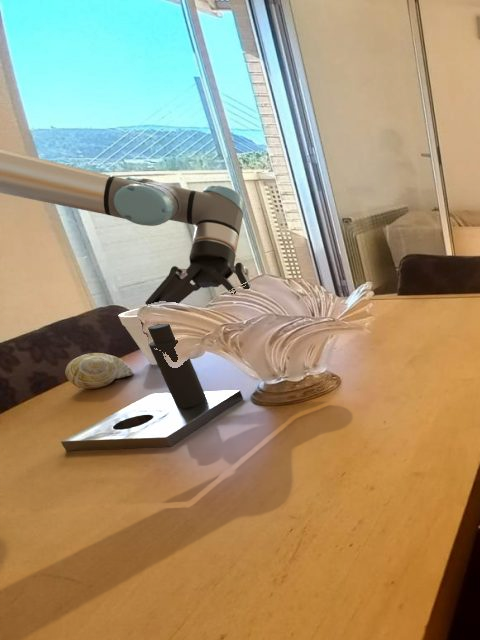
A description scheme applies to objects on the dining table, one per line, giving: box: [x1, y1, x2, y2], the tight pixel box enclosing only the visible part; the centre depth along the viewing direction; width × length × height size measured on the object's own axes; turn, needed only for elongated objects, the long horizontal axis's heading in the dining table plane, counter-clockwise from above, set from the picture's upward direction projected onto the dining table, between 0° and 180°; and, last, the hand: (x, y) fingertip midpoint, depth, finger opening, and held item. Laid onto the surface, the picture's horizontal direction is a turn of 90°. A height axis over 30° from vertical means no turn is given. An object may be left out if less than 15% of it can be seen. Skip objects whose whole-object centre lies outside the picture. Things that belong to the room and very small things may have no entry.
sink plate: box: [60, 389, 244, 452], centre depth 90 cm, size 18×18×2 cm
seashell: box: [64, 352, 134, 390], centre depth 107 cm, size 10×10×10 cm
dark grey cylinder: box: [148, 324, 207, 408], centre depth 90 cm, size 5×5×16 cm
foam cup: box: [118, 308, 158, 366], centre depth 118 cm, size 10×9×13 cm
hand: (197, 334), depth 98 cm, fingers open, 13 cm apart
